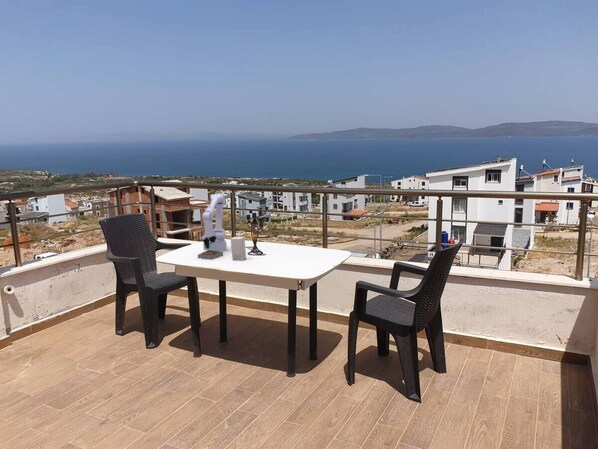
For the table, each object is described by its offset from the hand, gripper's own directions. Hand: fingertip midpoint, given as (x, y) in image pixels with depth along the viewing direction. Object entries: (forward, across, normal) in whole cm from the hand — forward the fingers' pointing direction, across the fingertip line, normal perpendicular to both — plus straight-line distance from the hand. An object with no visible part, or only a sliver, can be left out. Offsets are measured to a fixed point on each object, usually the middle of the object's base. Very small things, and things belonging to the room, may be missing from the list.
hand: (210, 247), depth 312 cm
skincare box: (+8, -4, +22) cm, 24 cm away
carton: (+2, 0, 0) cm, 2 cm away
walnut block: (+7, 0, 0) cm, 7 cm away
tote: (+8, 0, 0) cm, 8 cm away
